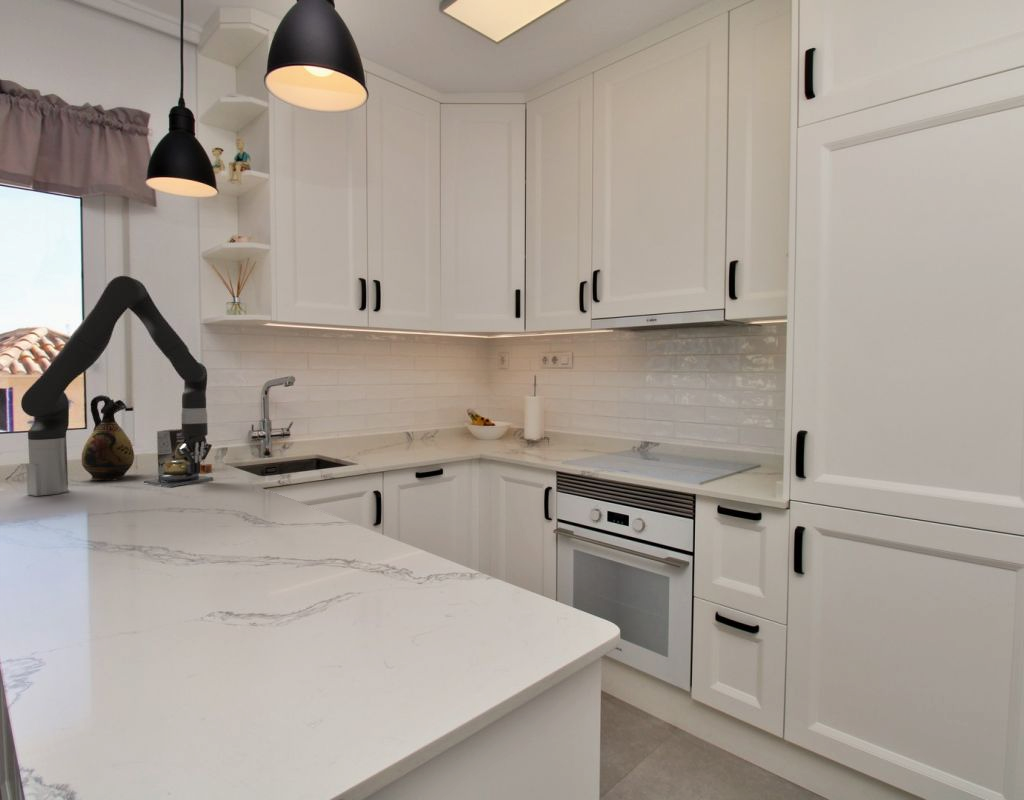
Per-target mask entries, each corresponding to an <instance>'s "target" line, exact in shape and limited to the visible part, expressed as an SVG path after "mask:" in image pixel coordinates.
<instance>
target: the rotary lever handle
mask: <svg viewBox="0 0 1024 800" xmlns="http://www.w3.org/2000/svg"><path fill="white" fill-rule="evenodd" d="M171 461H173V460H167V461H166V463H165V464H164V465H163V474H167V475H175V474H186V473H191V472H190V463H189V462H186V461H183V463H181V464H173V462H171ZM212 466H213V464H212V463H200V473H199V475H207V474H208V475H209V474H212V473H213V467H212Z"/></svg>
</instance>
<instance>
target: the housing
mask: <svg viewBox="0 0 1024 800" xmlns="http://www.w3.org/2000/svg"><path fill="white" fill-rule="evenodd" d="M183 461H185V460H173V461H171V462H173V464H181V463H183ZM157 475H158V477H157V478H153V479H146V480H143V484H144V483H149V484H155V485H154V486H156V485H161V486H160V487H163V486H167V487H166V488H169V487H170V488H174V487H173V486H176V487H179V486H178V485H182V486H185V485H184V484H188V485H193V484H197V483H198V482H199V483H204V481H205V482H209V480H211V481H214V477H213V476H206V475H200V474H191V473H186V474H175V475H167V474H163V473H158V474H157ZM192 483H193V484H192ZM199 483H198V484H199ZM149 484H148V485H149Z"/></svg>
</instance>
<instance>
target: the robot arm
mask: <svg viewBox="0 0 1024 800" xmlns="http://www.w3.org/2000/svg"><path fill="white" fill-rule="evenodd" d="M128 309H129V310H130V311H131V312H133V314H134V315H136V317H137V318H138V319H139V320H140V322H141V323H142V324H143V325H144V327H145V329H146V330H147V332H148V335H149V336H150V338H151V339H152V341H153V342H154V344H155V345H156V347H157V348H158V349H159V350H160V351H161V353H162V354H163V355H164V356H165V358H166V359H167V360H168V361H169V362H170V364H171V365H172V367H173V368H174V370H175V372H176V373H177V375H179V377H180V378H181V379H182V380H183V381H184V384H183V385H184V386H183V387H184V388H183V392H182V394H181V395H182V396H181V414H180V415H181V418H180V420H181V429H182V436H183V437H184V441H183V446H182V447H181V448H177V451H178V452H179V453H180V455H181V456H182V458H183V459H184V460H185V461H186V462H189V463H190V472H191V474H199V473H200V464H201V463H202V461H203V460H204V461H205V460H206V458H208V457H207V456H208V454H209V453H210V451H211V449H212V447H213V446H212V444H210V443H208V442H207V438H206V437H207V436H208V427H209V426H208V411H207V385H208V371H207V367H206V366H205V365H203V364H202V363H201V362H198V361H197V360H196V359H195V357H194V355H193V354H192V353H191V352H190V349H189V347H188V346H187V345H186V343H185V341H183V339H182V338H181V337H180V335H178V333H177V332H176V331H175V330H174V328H173V327H172V326H171V325H170V323H169V322H168V321H167V320H166V318H165V317H164V316H163V314H162V313H161V311H160V310H159V309H158V307H157V306H156V304H155V302H154V301H153V299H152V297H151V296H150V293H149V291H148V290H147V288H146V286H145V285H144V284H143V282H141V281H140V280H138V279H136V278H133V277H130V276H127V275H118V276H115V277H113V278H112V279H110V281H108V283H107V284H106V286H105V287H104V289H103V291H102V293H101V294H100V296H99V298H98V300H97V301H96V304H94V306H93V308H92V309H91V310H90V312H89V313H88V314H87V315H86V316H85V318H84V319H83V320H82V321H81V323H80V324H79V326H78V327H77V328H76V329H75V330H74V331H73V333H72V334H71V335H70V337H69V338H68V340H66V342H65V343H64V345H63V347H62V348H61V349H60V350H59V352H58V353H57V354H56V356H55V357H54V358H53V360H52V361H51V363H50V364H49V366H48V367H47V368H46V370H45V371H44V372H43V373H42V374H41V375H40V377H38V379H36V381H35V382H34V383H33V384H32V385H31V386H30V387H29V388H28V389H27V390H26V391H25V392H24V394H23V396H22V398H21V401H20V406H21V409H22V411H23V412H24V413H25V414H26V415H27V416H30V417H34V421H33V425H32V426H31V427H30V428H29V430H28V431H27V440H28V441H27V443H28V445H27V446H28V463H26V464H25V465H26V467H25V470H26V491H27V492H26V493H27V495H29V496H34V497H39V496H49V495H57V494H63V493H67V492H69V473H68V471H69V470H68V452H67V451H68V450H67V449H68V448H67V445H68V444H67V432H68V429H69V424H70V423H69V421H70V420H69V419H70V411H69V410H70V405H69V404H70V403H69V398H68V395H67V393H65V391H66V390H67V388H68V387H69V385H70V384H71V383H72V382H73V381H74V380H76V379H78V377H79V376H81V375H82V374H83V373H84V372H85V371H87V370H88V369H89V368H91V367H92V366H93V365H94V364H95V363H96V362H97V361H98V359H99V358H100V357H101V355H102V354H103V352H104V351H105V350H106V348H107V347H108V345H109V343H110V340H111V338H112V336H113V332H114V329H115V326H116V324H117V322H118V320H119V319H120V318H121V317H122V315H124V313H125V312H126V311H127V310H128ZM199 475H200V474H199Z"/></svg>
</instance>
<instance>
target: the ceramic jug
mask: <svg viewBox="0 0 1024 800" xmlns="http://www.w3.org/2000/svg"><path fill="white" fill-rule="evenodd" d="M100 402H103V404H104V405H103V406H102V408H100V412H99V408H98V406H99V404H100ZM126 409H127V405H126V404H125V403H124V401H122V400H121V399H118V400H115V401H114V399H111V398H110V397H109V396H107V395H103V394H98V395H97V396H95V397H93V398H92V399H91V401H90V413H91V415H92V419H93V422H94V428H93V430H92V432H91V434H90V436H89V438H88V439H87V440H86V442H85V444H84V446H83V449H82V452H81V465H82V467H83V468H84V470H85V471H86V472H87V473H89V474H90V475H91V480H93V481H97V480H107V481H112V480H111V479H117V480H120V479H119V478H121V479H124V478H123V477H125V475H126V473H127V472H128V471H129V469H131V468H132V466H133V464H134V460H135V452H134V448H133V444H132V442H131V440H130V438H129V437H128V435H127V434H126V432H125V431H124V429H122V427H121V426H120V425H119V424H118V423H117V421H116V418H115V415H116V413H119V412H120V411H122V410H126ZM100 413H101V414H102V418H101V416H100Z"/></svg>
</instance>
